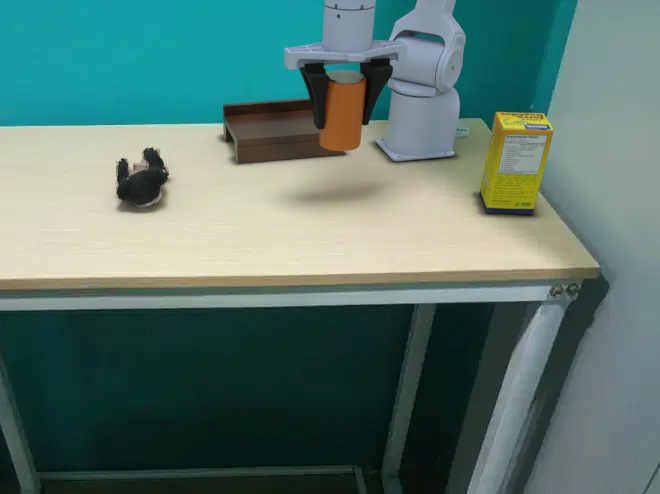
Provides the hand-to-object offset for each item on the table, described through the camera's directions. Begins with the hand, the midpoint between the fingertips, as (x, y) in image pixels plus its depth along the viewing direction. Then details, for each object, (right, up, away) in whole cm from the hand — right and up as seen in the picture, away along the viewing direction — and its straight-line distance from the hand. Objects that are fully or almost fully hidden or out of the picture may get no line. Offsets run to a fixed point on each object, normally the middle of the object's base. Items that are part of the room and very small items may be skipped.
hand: (340, 124), depth 91 cm
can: (0, -2, +2) cm, 2 cm away
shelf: (-6, +4, +20) cm, 21 cm away
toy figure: (-26, -6, +8) cm, 27 cm away
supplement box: (+22, -9, +3) cm, 24 cm away
